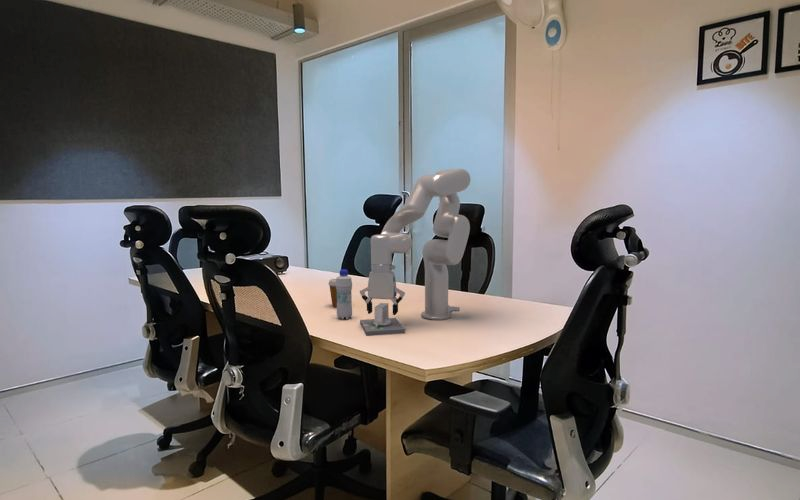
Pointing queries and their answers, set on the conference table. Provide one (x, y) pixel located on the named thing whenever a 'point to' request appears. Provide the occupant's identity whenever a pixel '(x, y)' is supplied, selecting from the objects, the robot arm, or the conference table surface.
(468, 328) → the conference table surface
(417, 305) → the conference table surface
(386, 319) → the knob
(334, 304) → the disposable coffee cup
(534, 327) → the conference table surface
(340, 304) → the bottle
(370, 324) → the dial board
